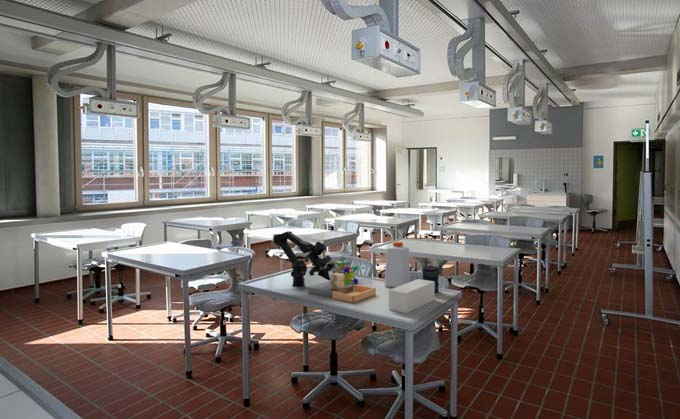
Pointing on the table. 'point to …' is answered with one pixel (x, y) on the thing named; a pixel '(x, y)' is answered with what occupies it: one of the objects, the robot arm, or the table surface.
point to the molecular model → (350, 275)
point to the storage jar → (431, 275)
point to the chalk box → (341, 266)
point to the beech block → (337, 281)
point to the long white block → (411, 295)
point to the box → (355, 294)
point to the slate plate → (328, 289)
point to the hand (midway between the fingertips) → (329, 280)
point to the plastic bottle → (397, 265)
